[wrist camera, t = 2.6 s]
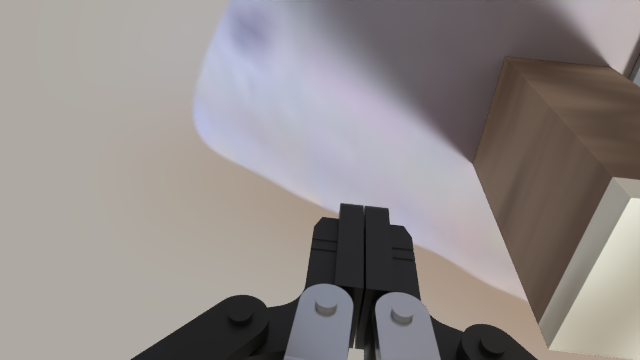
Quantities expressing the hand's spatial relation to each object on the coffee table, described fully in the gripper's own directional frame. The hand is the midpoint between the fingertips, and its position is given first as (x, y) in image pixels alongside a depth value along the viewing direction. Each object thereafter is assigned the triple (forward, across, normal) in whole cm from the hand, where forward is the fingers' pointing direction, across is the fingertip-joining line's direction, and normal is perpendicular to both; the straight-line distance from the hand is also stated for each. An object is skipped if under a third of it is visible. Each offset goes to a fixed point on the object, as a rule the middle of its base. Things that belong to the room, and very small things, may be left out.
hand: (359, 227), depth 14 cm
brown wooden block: (+11, -9, 0) cm, 14 cm away
